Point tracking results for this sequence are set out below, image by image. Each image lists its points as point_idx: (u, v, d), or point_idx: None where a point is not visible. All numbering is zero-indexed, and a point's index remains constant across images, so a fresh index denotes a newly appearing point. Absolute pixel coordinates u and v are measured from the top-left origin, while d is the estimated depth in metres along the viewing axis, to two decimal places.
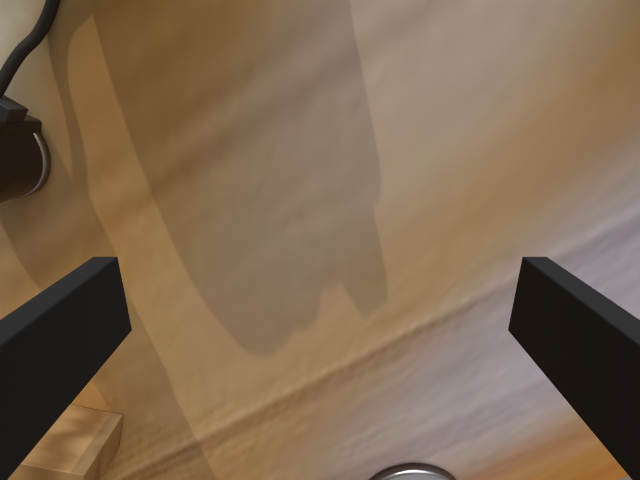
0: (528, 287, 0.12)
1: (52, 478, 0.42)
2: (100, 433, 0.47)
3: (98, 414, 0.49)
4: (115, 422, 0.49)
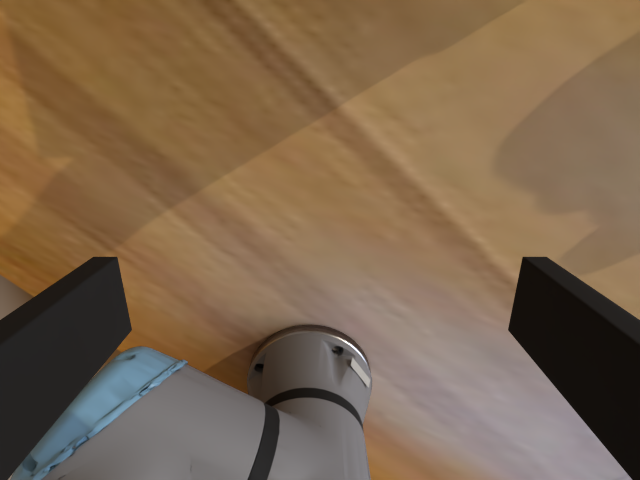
0: (528, 287, 0.12)
1: None
2: None
3: None
4: None
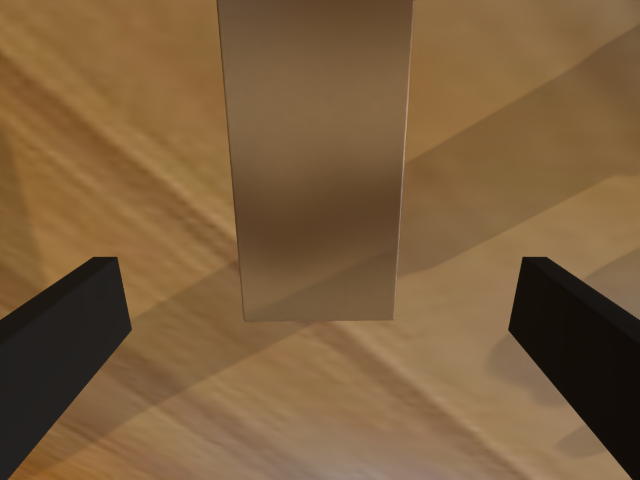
0: (528, 287, 0.12)
1: (363, 242, 0.14)
2: None
3: None
4: None
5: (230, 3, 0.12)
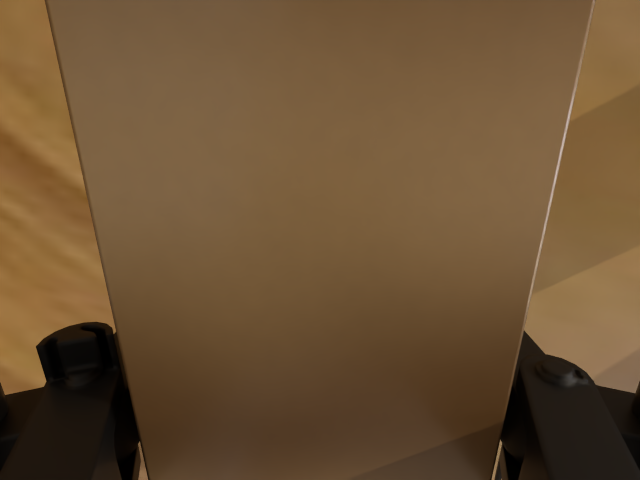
0: None
1: (420, 454, 0.06)
2: None
3: None
4: None
5: None
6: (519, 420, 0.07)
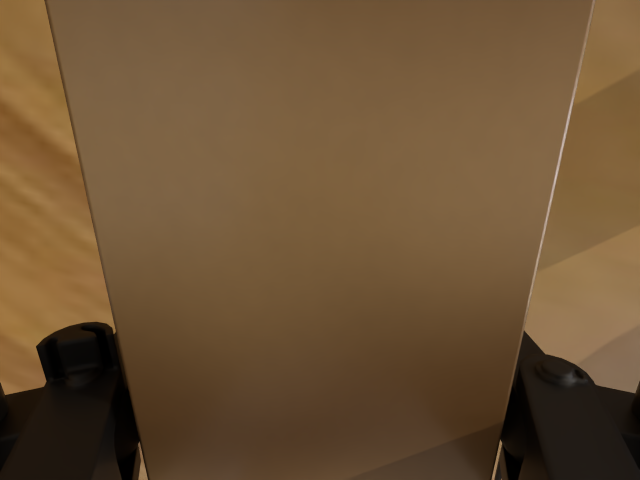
0: None
1: (420, 454, 0.06)
2: None
3: None
4: None
5: None
6: (519, 420, 0.07)
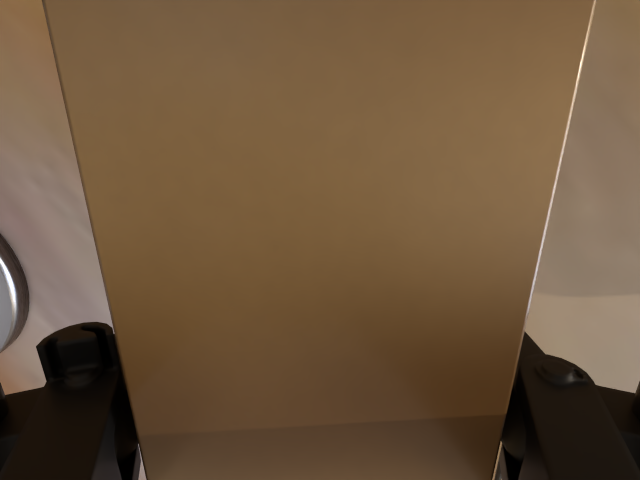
0: None
1: (420, 454, 0.06)
2: None
3: None
4: None
5: None
6: (519, 420, 0.07)
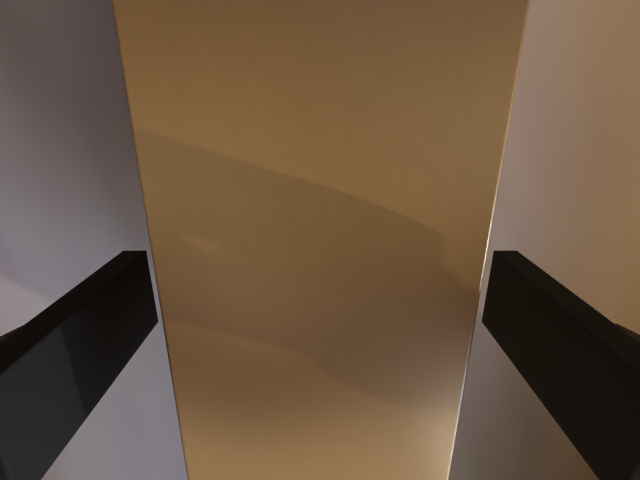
0: (498, 279, 0.12)
1: (400, 393, 0.08)
2: None
3: None
4: None
5: None
6: None
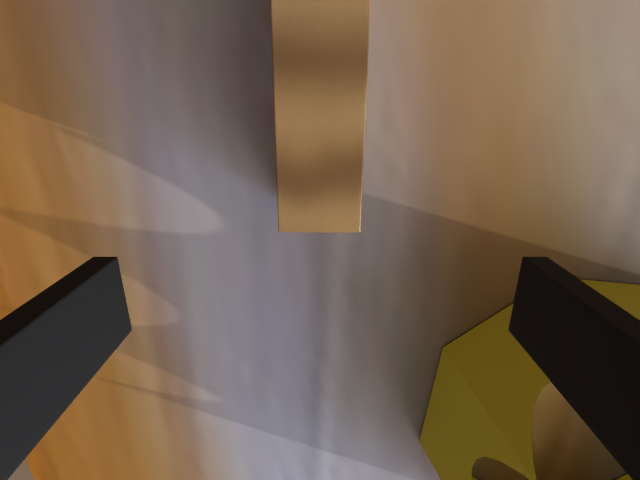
0: (528, 287, 0.12)
1: (343, 188, 0.27)
2: None
3: None
4: None
5: (279, 67, 0.24)
6: None
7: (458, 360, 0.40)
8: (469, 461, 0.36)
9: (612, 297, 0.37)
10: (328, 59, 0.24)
